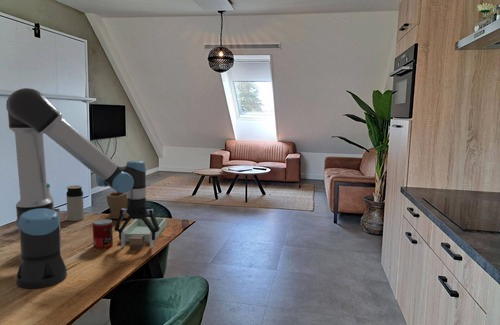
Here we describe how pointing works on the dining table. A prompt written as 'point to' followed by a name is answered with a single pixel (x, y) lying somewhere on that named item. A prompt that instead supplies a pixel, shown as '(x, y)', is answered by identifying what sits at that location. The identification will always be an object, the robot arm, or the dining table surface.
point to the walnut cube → (137, 242)
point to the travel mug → (75, 203)
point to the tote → (144, 229)
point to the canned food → (102, 233)
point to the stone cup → (117, 204)
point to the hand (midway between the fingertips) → (137, 246)
